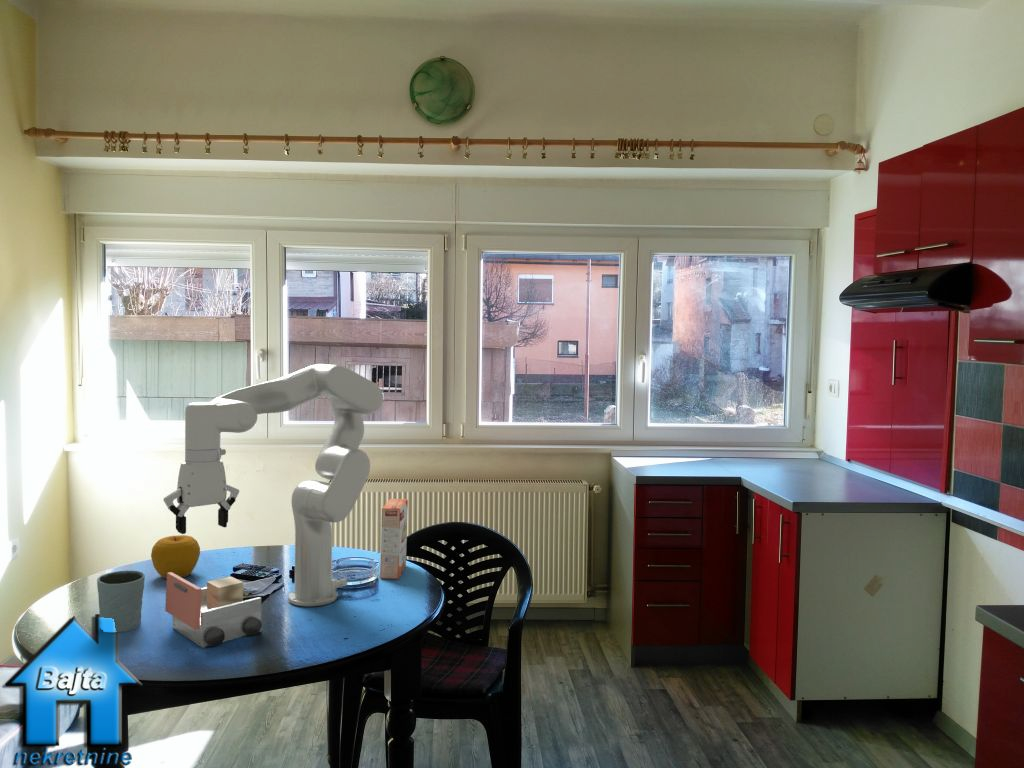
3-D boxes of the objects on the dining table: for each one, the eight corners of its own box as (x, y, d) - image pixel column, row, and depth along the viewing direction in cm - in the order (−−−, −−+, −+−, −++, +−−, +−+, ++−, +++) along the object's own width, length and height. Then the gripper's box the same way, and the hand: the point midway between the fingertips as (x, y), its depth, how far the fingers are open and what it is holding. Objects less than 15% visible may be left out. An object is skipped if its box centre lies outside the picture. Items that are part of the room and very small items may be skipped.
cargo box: (231, 600, 184) (231, 576, 184) (242, 607, 180) (242, 582, 180) (206, 606, 180) (206, 581, 180) (218, 613, 176) (218, 587, 176)
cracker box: (400, 580, 219) (401, 508, 218) (379, 579, 219) (380, 507, 218) (407, 565, 233) (408, 498, 232) (387, 565, 233) (388, 497, 232)
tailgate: (169, 610, 179) (171, 572, 179) (199, 629, 168) (201, 588, 168) (163, 611, 178) (165, 573, 177) (193, 630, 167) (195, 589, 167)
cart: (226, 612, 190) (227, 580, 190) (263, 632, 178) (263, 599, 177) (170, 626, 180) (170, 593, 180) (205, 649, 168) (205, 614, 167)
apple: (142, 576, 216) (142, 537, 215) (184, 566, 227) (184, 528, 226) (167, 586, 209) (167, 545, 208) (209, 574, 219) (209, 535, 219)
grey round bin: (112, 617, 185) (112, 569, 184) (153, 619, 185) (153, 570, 184) (88, 633, 175) (87, 582, 174) (131, 635, 174) (130, 584, 174)
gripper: (231, 450, 183) (230, 520, 184) (157, 457, 171) (157, 532, 172) (246, 454, 178) (245, 526, 179) (171, 461, 166) (170, 539, 167)
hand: (202, 529), depth 175 cm, fingers open, 9 cm apart
